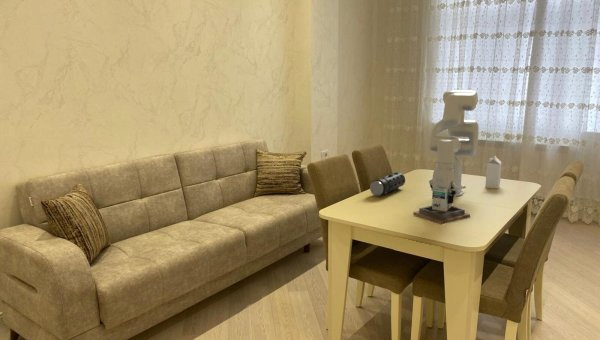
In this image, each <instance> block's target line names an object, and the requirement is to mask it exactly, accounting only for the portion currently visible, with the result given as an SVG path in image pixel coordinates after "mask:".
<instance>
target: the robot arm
mask: <svg viewBox="0 0 600 340" xmlns="http://www.w3.org/2000/svg"><path fill="white" fill-rule="evenodd" d="M442 101H443V103H444V108H443V114H442V119H440V120H439V121H437V123H436V124H435V125H434V126H433V127H432V129H431V131H430V135H429V144H428V146H429V148H428V149H429V150H430V151H431V152H435V153H436V161H435V162H434V164H435V165H436V166H435V167H434V169H433V172H432V173H433V174H432V179H430V180H428V184H429V188H431V191H432V196H431V200H433V187H435V186H438V187H441V188H445V189H448V193H449V195H448V204H451V203H452V204H454V201H455V200H454V199H455V198H454V197H460V196H463V195H464V192H463V191H462V190H464V189H466V188H467V187H466V184H465V185H464V184H463V185H462V178H463V177H462V175H463V162H462V160H461V159H460V157H469V158H470V157H475V156H476V155H477V154H478V144H479V123H478V121H476V120H472V119H466V118H465V114H466V111H467V112H468V111H469V112H471V111H472V112H473V111H475V109H476V106H477V105H478V101H479V94H478V92H476V90H446V91H445V92H444V93H442ZM446 130H447V135H448V136H438V134H439V133H441V132H443V131H446Z"/></svg>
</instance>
